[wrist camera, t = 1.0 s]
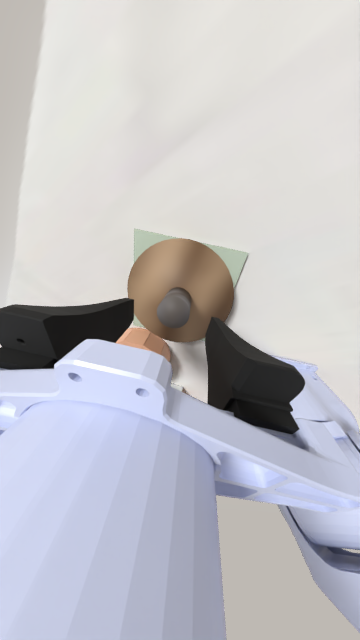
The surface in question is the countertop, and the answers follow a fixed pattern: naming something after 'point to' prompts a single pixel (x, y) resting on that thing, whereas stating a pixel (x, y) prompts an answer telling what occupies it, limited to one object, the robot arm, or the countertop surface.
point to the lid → (180, 289)
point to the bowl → (145, 341)
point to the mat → (229, 256)
